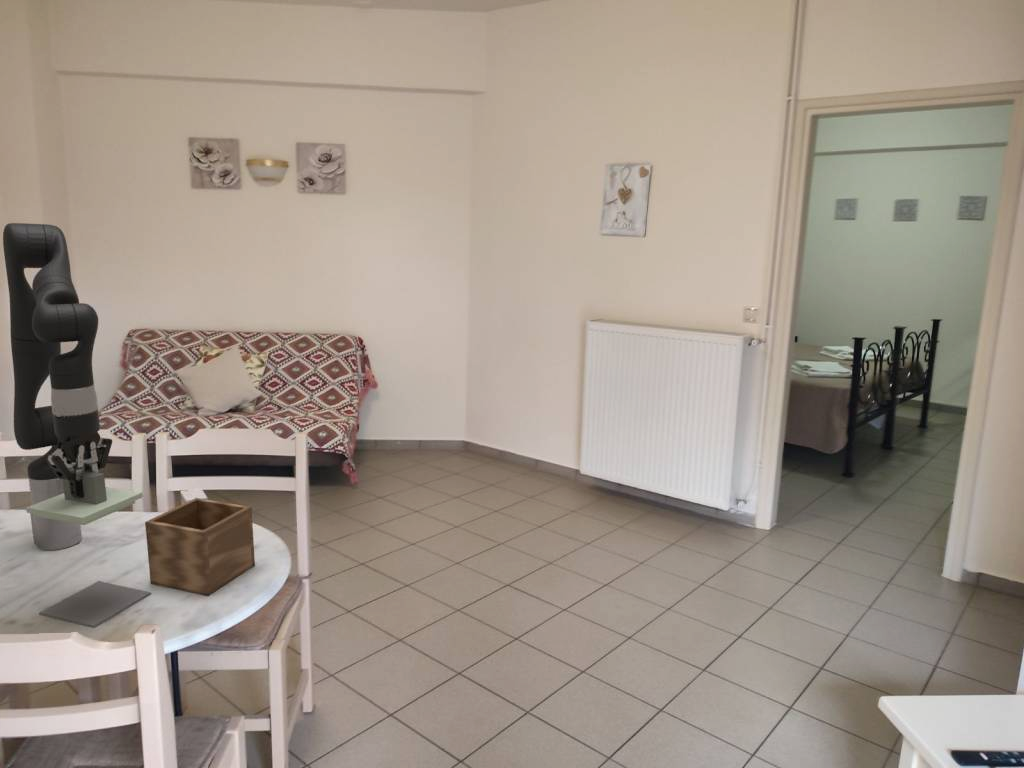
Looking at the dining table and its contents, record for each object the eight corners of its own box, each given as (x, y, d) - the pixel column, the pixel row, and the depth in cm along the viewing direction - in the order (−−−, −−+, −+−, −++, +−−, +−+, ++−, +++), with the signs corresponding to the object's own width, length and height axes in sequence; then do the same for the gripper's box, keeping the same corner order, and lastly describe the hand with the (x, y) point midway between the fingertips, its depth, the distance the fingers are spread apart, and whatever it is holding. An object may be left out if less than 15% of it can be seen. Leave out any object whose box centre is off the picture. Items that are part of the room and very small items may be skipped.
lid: (27, 517, 142) (22, 479, 140) (89, 492, 155) (85, 458, 153) (83, 528, 137) (79, 489, 136) (143, 501, 150) (139, 466, 149)
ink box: (212, 544, 179) (209, 497, 176) (190, 548, 176) (186, 501, 173) (205, 531, 186) (201, 486, 183) (183, 535, 183) (179, 490, 180)
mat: (39, 614, 146) (38, 612, 146) (98, 582, 159) (98, 580, 159) (94, 627, 142) (94, 625, 141) (151, 594, 154) (150, 592, 154)
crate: (150, 583, 159) (145, 522, 156) (200, 554, 173) (196, 497, 170) (208, 595, 154) (203, 532, 151) (254, 565, 168) (251, 506, 165)
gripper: (91, 399, 149) (99, 481, 153) (26, 415, 136) (38, 504, 140) (120, 402, 147) (128, 486, 151) (57, 419, 134) (68, 510, 138)
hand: (84, 494), depth 145 cm, fingers closed on lid, 2 cm apart
